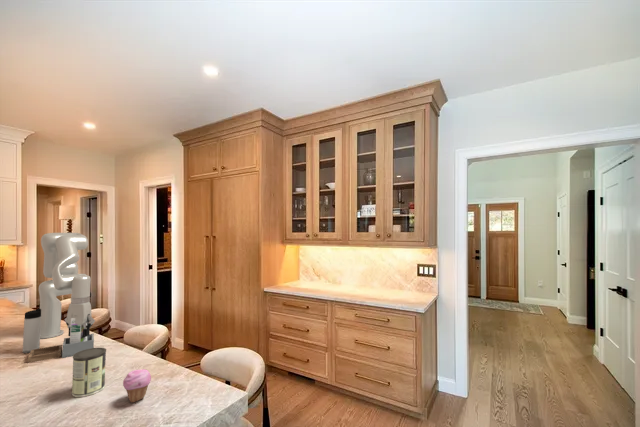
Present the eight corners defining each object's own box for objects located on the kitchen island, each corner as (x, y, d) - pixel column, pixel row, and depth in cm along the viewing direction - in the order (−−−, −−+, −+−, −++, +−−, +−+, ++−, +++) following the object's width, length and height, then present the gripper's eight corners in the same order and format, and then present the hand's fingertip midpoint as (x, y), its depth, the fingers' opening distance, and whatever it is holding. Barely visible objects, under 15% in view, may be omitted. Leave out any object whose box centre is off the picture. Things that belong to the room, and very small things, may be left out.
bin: (63, 350, 156) (64, 338, 157) (93, 345, 164) (93, 333, 164) (62, 358, 147) (62, 345, 147) (93, 352, 154) (93, 340, 154)
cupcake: (119, 398, 112) (120, 370, 112) (146, 389, 118) (147, 363, 118) (126, 408, 106) (127, 378, 106) (153, 399, 112) (154, 370, 112)
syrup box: (68, 348, 152) (70, 318, 153) (74, 344, 157) (75, 315, 158) (82, 347, 153) (83, 317, 154) (87, 343, 159) (88, 314, 160)
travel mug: (43, 348, 159) (45, 309, 160) (30, 353, 152) (32, 312, 153) (32, 348, 159) (34, 308, 161) (18, 353, 153) (21, 312, 154)
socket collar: (31, 355, 151) (31, 349, 151) (62, 349, 157) (62, 344, 158) (27, 363, 141) (27, 357, 141) (60, 357, 148) (60, 351, 148)
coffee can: (87, 382, 123) (89, 346, 124) (111, 384, 122) (112, 347, 123) (63, 396, 113) (65, 357, 114) (89, 398, 112) (91, 358, 113)
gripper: (58, 301, 154) (56, 337, 153) (89, 302, 152) (87, 339, 151) (72, 298, 162) (70, 332, 161) (102, 299, 159) (100, 334, 158)
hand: (78, 335), depth 156 cm, fingers closed on syrup box, 7 cm apart
